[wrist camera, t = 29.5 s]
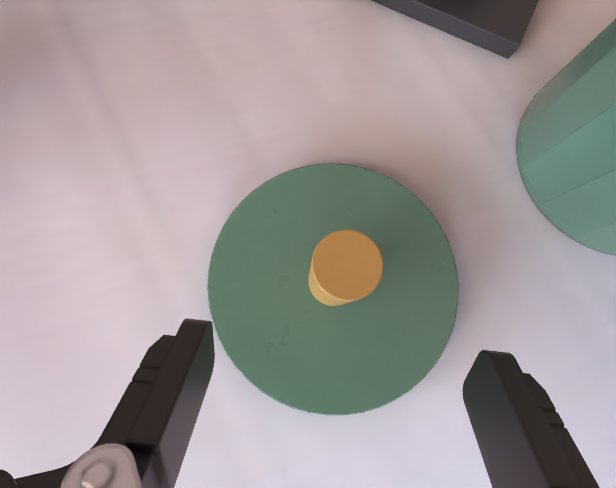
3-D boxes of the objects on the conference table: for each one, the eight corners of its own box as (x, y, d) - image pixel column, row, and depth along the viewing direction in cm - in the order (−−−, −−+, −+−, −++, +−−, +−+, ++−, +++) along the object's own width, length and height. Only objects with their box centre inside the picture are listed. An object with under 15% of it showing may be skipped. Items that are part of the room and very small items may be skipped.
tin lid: (168, 338, 19) (95, 349, 12) (280, 136, 21) (271, 54, 15) (393, 456, 18) (447, 537, 11) (483, 231, 20) (571, 188, 14)
